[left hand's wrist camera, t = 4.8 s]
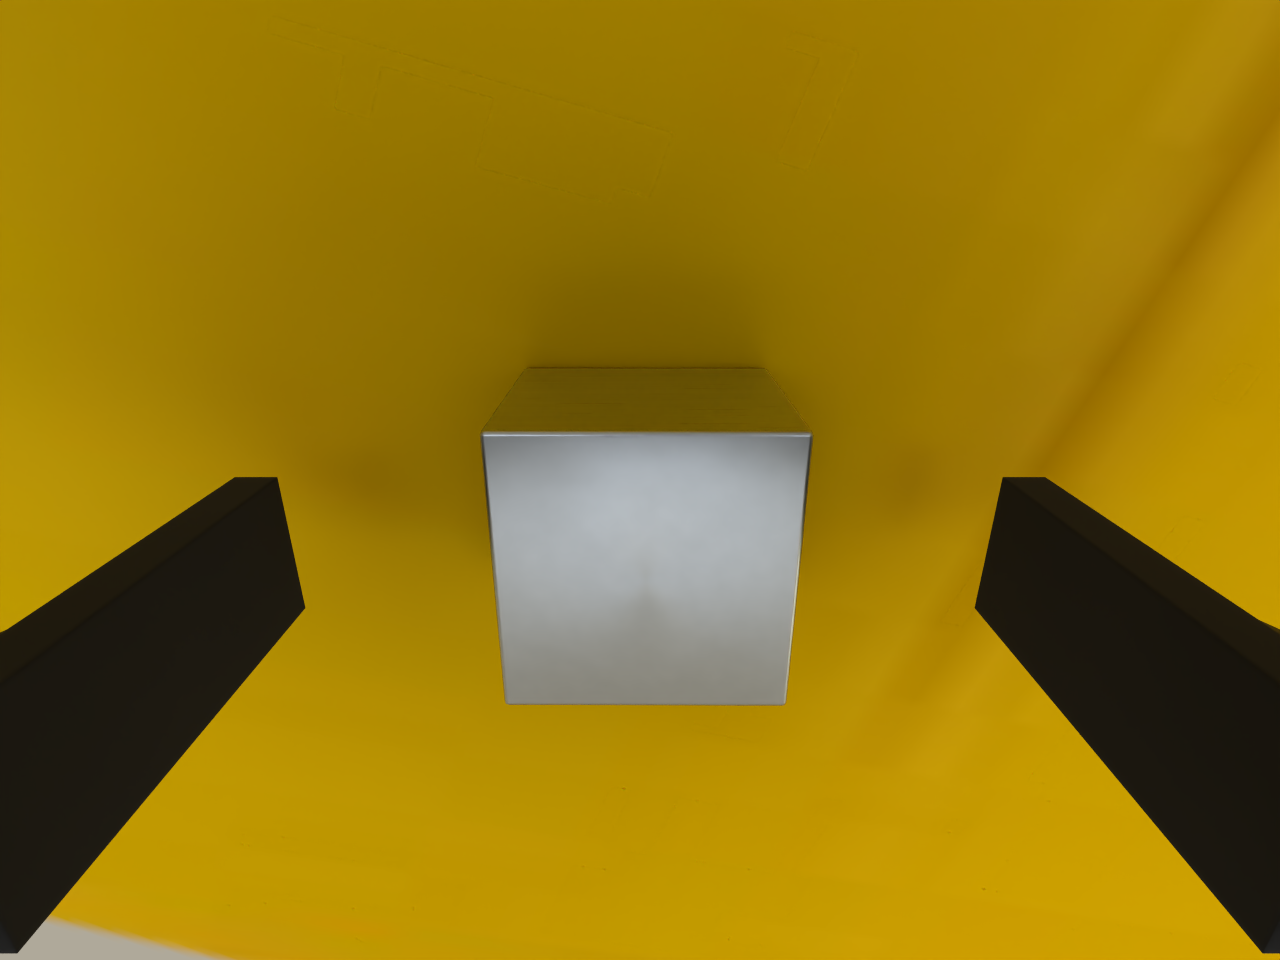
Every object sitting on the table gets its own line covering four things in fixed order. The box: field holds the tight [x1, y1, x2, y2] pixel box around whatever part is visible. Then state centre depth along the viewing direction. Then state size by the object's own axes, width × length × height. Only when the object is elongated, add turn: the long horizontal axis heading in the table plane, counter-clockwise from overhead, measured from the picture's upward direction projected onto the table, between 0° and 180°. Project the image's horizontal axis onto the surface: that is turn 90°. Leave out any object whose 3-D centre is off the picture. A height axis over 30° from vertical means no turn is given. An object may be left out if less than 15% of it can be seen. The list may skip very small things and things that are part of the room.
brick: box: [480, 368, 813, 705], centre depth 13 cm, size 5×5×4 cm
